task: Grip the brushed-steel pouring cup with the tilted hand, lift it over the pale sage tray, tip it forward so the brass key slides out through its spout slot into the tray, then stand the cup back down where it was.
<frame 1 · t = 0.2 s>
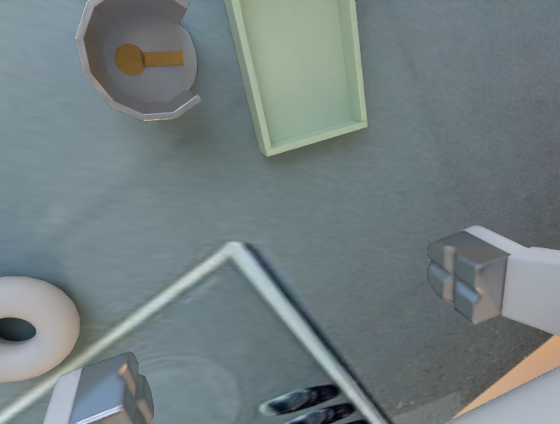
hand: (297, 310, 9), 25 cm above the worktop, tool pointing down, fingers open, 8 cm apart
key: (150, 59, 28), point 1 cm above the worktop, touching steel cup
tray: (294, 53, 31), on the worktop
steel cup: (150, 59, 28), on the worktop, touching key
donut: (21, 316, 32), on the worktop
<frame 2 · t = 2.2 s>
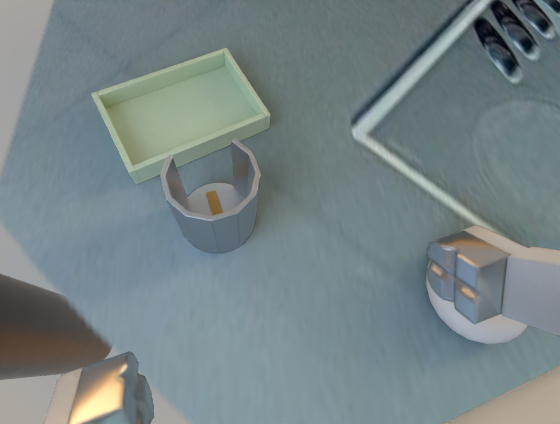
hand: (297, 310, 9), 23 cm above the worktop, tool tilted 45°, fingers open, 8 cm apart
key: (218, 215, 34), point 1 cm above the worktop, touching steel cup
tray: (185, 119, 39), on the worktop
steel cup: (218, 217, 35), on the worktop, touching key
donut: (467, 290, 35), on the worktop
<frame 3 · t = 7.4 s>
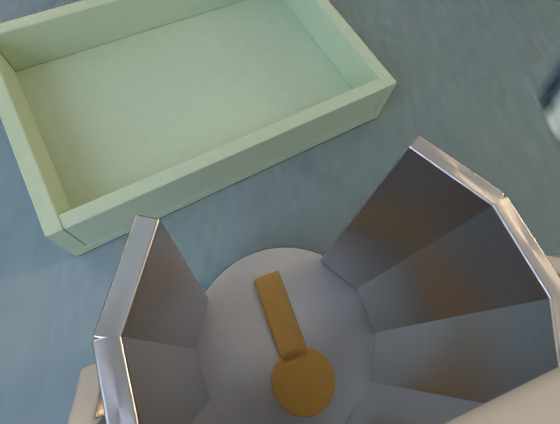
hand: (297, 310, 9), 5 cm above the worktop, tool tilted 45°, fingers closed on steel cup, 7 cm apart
key: (288, 340, 13), point 1 cm above the worktop, touching steel cup
tray: (197, 97, 18), on the worktop
steel cup: (286, 341, 14), on the worktop, touching gripper, key
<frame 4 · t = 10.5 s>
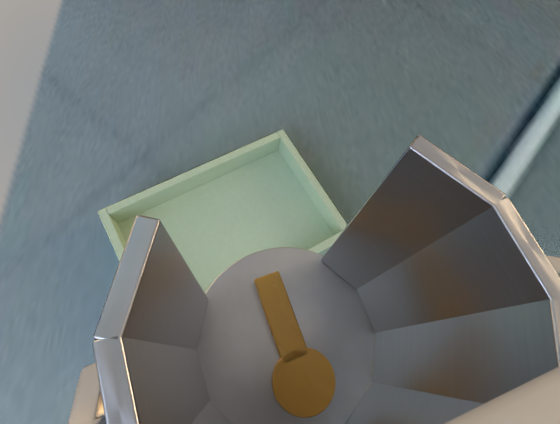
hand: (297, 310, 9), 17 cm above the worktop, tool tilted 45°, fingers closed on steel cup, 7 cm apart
key: (288, 341, 13), point 13 cm above the worktop, touching steel cup
tray: (229, 233, 28), on the worktop
steel cup: (286, 341, 14), point 12 cm above the worktop, touching gripper, key
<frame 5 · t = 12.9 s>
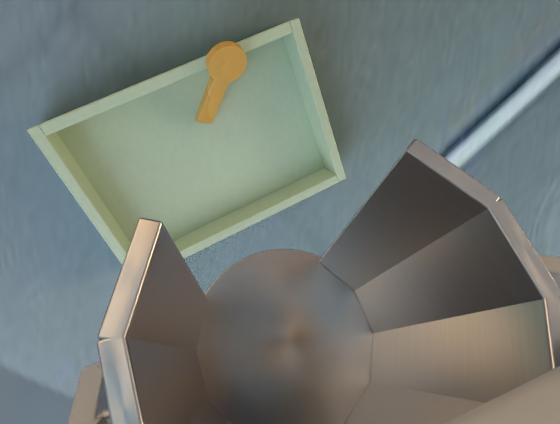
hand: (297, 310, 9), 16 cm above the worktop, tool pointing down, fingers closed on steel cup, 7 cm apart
key: (219, 88, 20), point 2 cm above the worktop, tilted 143°, touching tray
tray: (206, 149, 23), on the worktop
steel cup: (285, 342, 14), point 13 cm above the worktop, tilted 45°, touching gripper
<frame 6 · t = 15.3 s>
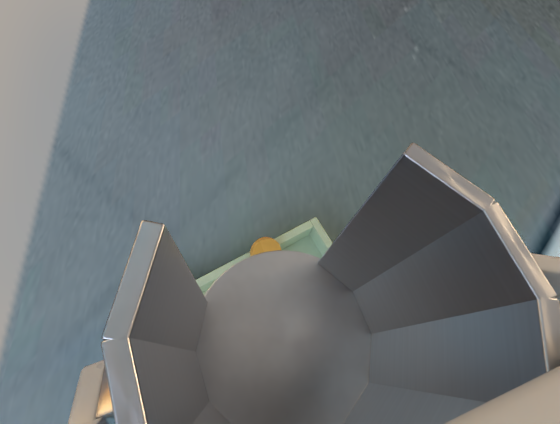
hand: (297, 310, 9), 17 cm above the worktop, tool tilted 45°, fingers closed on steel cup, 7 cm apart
key: (262, 272, 25), point 2 cm above the worktop, tilted 143°, touching tray
tray: (258, 334, 25), on the worktop
steel cup: (284, 343, 14), point 12 cm above the worktop, touching gripper
when the fingers open (5 cm above the worktop, at t = 21.0 s): steel cup stays where it is, on the worktop.
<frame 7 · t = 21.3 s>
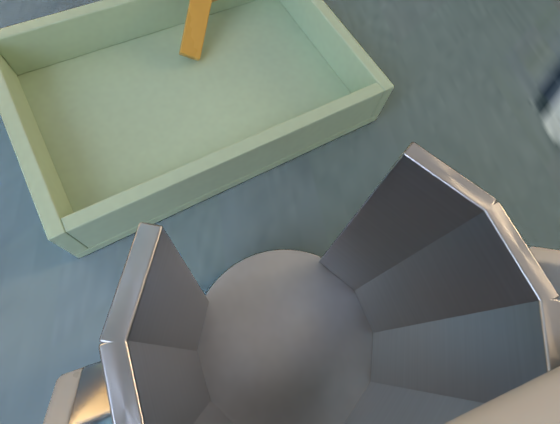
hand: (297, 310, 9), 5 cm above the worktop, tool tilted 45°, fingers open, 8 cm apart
key: (200, 3, 17), point 2 cm above the worktop, tilted 144°, touching tray
tray: (197, 100, 18), on the worktop
steel cup: (285, 342, 14), on the worktop
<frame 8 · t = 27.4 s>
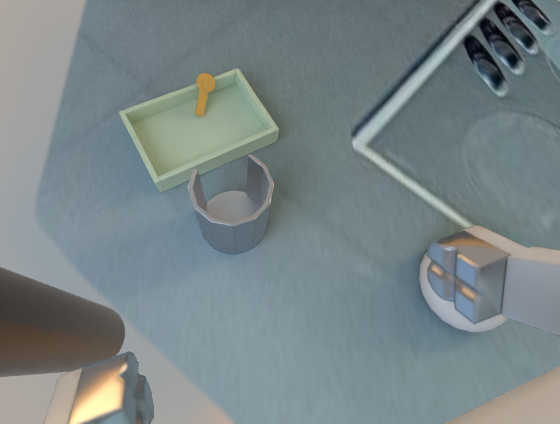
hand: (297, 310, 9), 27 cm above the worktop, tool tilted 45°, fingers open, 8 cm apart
key: (203, 94, 42), point 2 cm above the worktop, tilted 144°, touching tray
tray: (202, 133, 43), on the worktop
steel cup: (233, 222, 39), on the worktop
donut: (456, 285, 39), on the worktop
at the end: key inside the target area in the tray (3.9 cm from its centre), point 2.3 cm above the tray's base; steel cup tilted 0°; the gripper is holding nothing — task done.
